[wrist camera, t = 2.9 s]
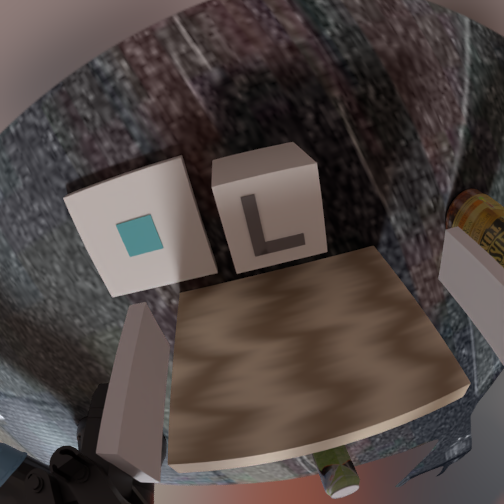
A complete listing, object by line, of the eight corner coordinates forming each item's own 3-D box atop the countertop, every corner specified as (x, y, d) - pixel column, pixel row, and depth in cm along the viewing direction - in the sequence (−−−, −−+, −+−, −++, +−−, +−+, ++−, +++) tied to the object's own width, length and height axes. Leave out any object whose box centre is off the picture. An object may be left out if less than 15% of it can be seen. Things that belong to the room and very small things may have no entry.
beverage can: (305, 449, 50) (318, 504, 40) (318, 433, 46) (333, 493, 36) (335, 445, 51) (350, 497, 41) (350, 428, 48) (368, 485, 37)
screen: (201, 339, 31) (204, 490, 18) (179, 292, 28) (167, 464, 14) (372, 296, 31) (444, 426, 17) (373, 245, 28) (470, 383, 14)
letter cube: (231, 230, 25) (236, 274, 20) (212, 159, 22) (211, 187, 17) (305, 213, 25) (329, 252, 20) (294, 141, 22) (319, 163, 17)
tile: (114, 292, 27) (112, 298, 26) (67, 194, 22) (62, 198, 21) (217, 267, 27) (217, 273, 26) (182, 155, 22) (180, 157, 21)
